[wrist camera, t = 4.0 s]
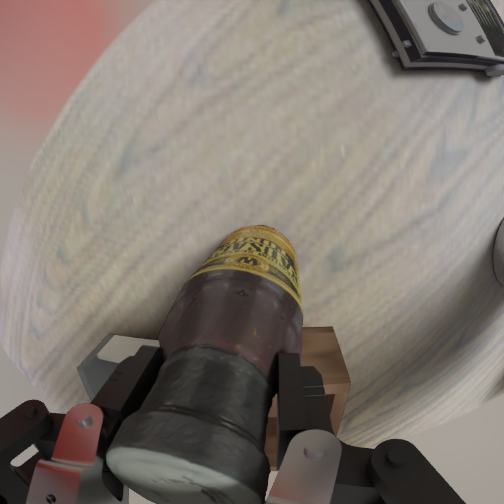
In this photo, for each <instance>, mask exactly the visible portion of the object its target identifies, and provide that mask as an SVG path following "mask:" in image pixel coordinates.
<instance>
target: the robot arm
mask: <svg viewBox="0 0 504 504" xmlns="http://www.w3.org/2000/svg"><path fill="white" fill-rule="evenodd" d="M493 265H494V272H495V275H496V277H497V279H498V281H499V282H500V283H502V284H503V285H504V220H503V222H502V223H501V226H500V228H499V230H498V233H497V237H496V240H495V245H494V253H493ZM163 363H164V361H163V348H162V347H157V346H148V345H142V346H141V347H140V348H139V350H138V351H137V352H136V354H135V355H134V356H129V357H127V358H126V359H124V360H123V361H121V362H120V363H119V364H118V366H117V367H116V368H115V370H114V373H112V374H111V375H110V377H109V380H107V381H106V382H105V383H104V385H103V386H102V388H101V389H100V390H99V392H98V393H97V395H96V396H95V397H94V399H93V400H92V402H91V403H90V404H88V403H84V404H79V405H76V406H74V407H72V408H71V409H70V410H69V411H68V412H67V413H66V414H59V413H49V411H48V409H47V408H46V406H45V404H44V403H43V402H41V401H39V400H28V401H26V402H24V403H22V404H21V405H19V406H18V407H16V408H15V409H13V410H12V411H11V412H9V413H8V414H6V415H5V416H3V417H2V418H0V504H129V488H128V487H127V486H126V485H124V484H123V483H122V482H121V481H120V480H119V479H117V478H116V476H115V475H114V474H113V473H112V472H111V470H110V468H109V467H108V465H107V460H106V453H107V450H108V448H109V447H110V445H111V443H112V442H113V440H114V437H115V435H116V434H117V432H118V430H119V428H120V426H121V424H122V422H123V421H124V420H125V419H126V418H127V417H128V416H130V415H131V414H133V413H134V412H136V411H137V410H139V409H140V408H141V406H142V404H143V402H144V400H145V399H146V397H147V396H148V394H149V392H150V391H151V389H152V387H153V385H154V384H155V382H156V380H157V378H158V373H159V369H160V368H161V366H162V365H163ZM32 444H34V446H35V447H36V448H37V449H38V450H39V452H37V453H36V454H35V455H34V456H32V457H31V458H30V459H29V460H27V461H26V462H25V463H24V464H22V465H21V466H19V467H15V466H12V465H11V464H10V462H11V461H12V459H14V458H15V457H17V456H18V455H19V454H20V453H22V452H23V451H24V450H26V449H27V448H28V447H30V446H31V445H32ZM276 470H279V472H278V474H277V476H276V479H275V481H274V483H273V486H272V488H271V490H270V493H269V495H268V497H267V499H266V501H265V502H264V503H263V504H466V503H465V502H464V501H463V500H462V499H461V498H460V497H459V495H458V494H457V493H456V492H455V491H454V490H453V489H452V487H451V486H450V485H449V484H448V483H447V482H446V481H445V480H444V478H443V477H442V476H441V475H440V474H439V473H438V472H437V471H436V469H435V468H434V467H433V466H432V465H431V464H430V463H429V461H428V460H427V459H426V458H425V457H424V456H423V455H422V454H421V452H420V451H419V450H418V449H417V448H416V447H415V446H414V445H413V444H411V443H410V442H408V441H406V440H402V439H390V440H386V441H384V442H382V443H380V444H379V445H378V446H377V447H376V448H375V449H371V448H361V447H354V446H350V445H347V444H345V443H343V442H342V441H340V440H339V439H338V438H337V437H336V435H335V434H334V432H333V429H332V424H331V419H330V414H329V409H328V404H327V399H326V396H325V389H324V384H323V380H322V375H321V374H320V373H319V372H318V370H317V369H316V368H315V367H314V366H301V364H300V357H299V353H278V392H277V469H276Z"/></svg>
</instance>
